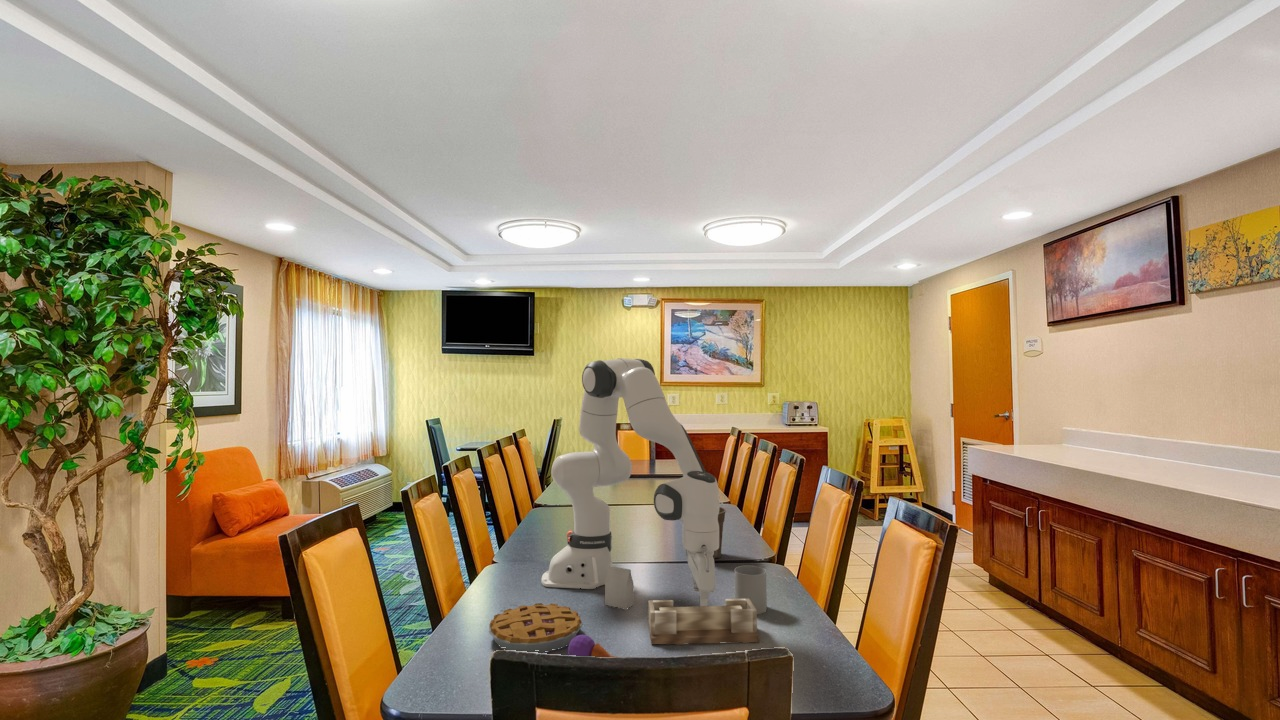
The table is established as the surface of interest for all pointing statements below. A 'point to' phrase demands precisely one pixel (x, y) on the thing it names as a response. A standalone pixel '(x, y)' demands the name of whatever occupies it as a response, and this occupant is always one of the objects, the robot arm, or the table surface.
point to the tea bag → (619, 587)
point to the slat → (702, 617)
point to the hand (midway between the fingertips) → (700, 597)
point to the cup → (751, 586)
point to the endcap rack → (665, 630)
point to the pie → (535, 627)
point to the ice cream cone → (586, 647)
